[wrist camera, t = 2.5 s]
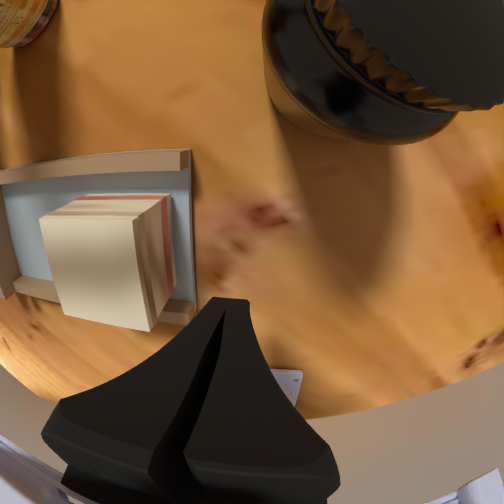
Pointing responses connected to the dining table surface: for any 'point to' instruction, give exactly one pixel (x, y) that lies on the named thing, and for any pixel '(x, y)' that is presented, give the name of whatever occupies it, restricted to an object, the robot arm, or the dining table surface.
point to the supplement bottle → (382, 65)
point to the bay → (80, 184)
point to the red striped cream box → (112, 257)
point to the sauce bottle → (23, 20)
